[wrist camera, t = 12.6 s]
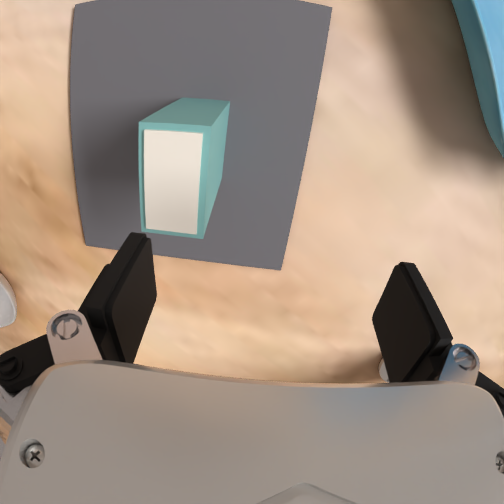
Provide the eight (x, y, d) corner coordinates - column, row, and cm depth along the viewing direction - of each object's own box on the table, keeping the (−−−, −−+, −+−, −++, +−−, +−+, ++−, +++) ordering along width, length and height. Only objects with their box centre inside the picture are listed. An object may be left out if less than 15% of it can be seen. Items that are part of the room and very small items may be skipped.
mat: (330, 8, 19) (332, 7, 18) (280, 266, 34) (280, 270, 33) (78, 5, 18) (75, 4, 17) (88, 242, 33) (86, 245, 32)
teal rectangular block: (230, 101, 23) (210, 127, 15) (221, 178, 27) (202, 240, 19) (182, 97, 23) (137, 122, 15) (178, 173, 27) (140, 233, 19)
